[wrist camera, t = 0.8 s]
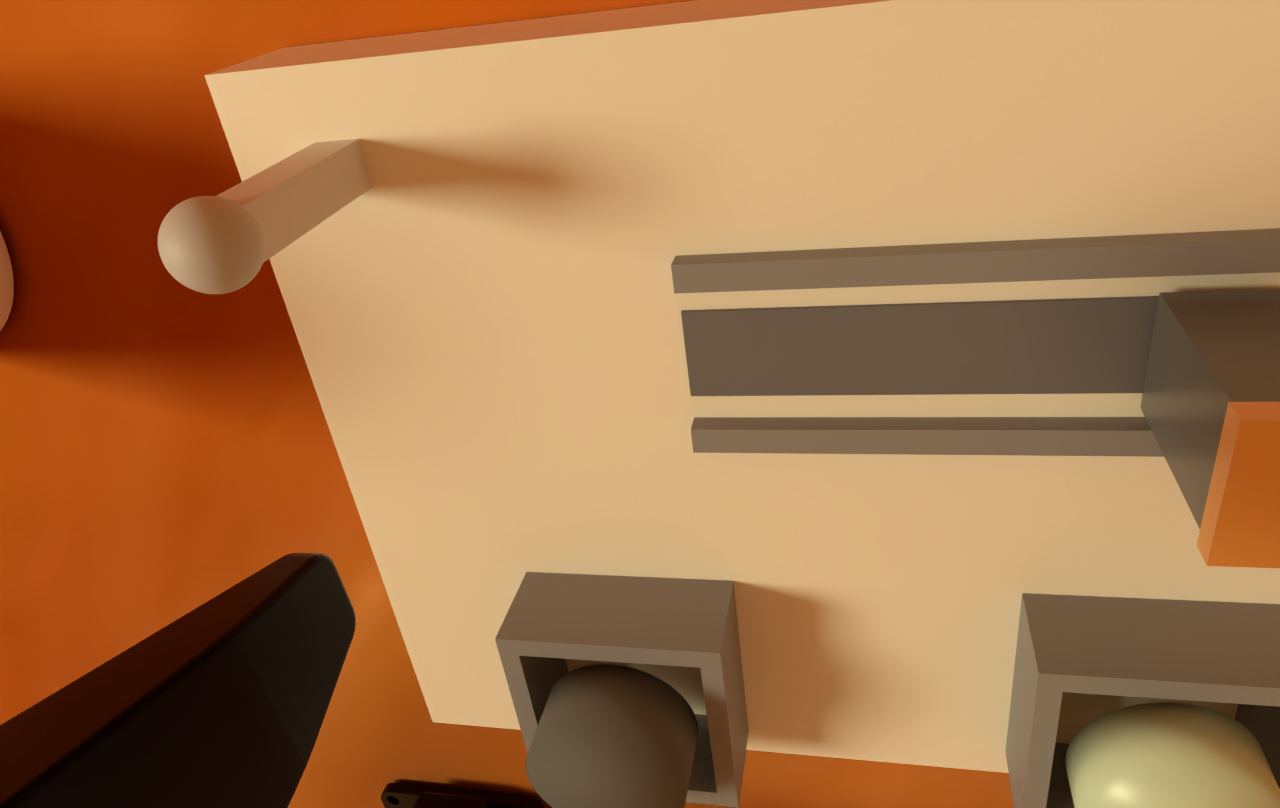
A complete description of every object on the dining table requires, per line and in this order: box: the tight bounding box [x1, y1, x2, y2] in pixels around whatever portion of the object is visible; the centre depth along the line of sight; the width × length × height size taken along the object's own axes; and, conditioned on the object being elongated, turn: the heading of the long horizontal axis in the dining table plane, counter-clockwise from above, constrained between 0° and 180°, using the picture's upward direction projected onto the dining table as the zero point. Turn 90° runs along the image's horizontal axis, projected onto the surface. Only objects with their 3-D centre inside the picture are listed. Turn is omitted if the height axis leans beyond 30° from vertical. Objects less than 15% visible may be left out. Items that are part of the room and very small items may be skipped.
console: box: [158, 0, 1280, 808], centre depth 19 cm, size 19×26×8 cm
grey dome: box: [526, 664, 698, 808], centre depth 22 cm, size 4×4×2 cm
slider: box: [1140, 289, 1280, 568], centre depth 15 cm, size 3×2×4 cm
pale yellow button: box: [1065, 702, 1280, 808], centre depth 19 cm, size 4×4×2 cm
